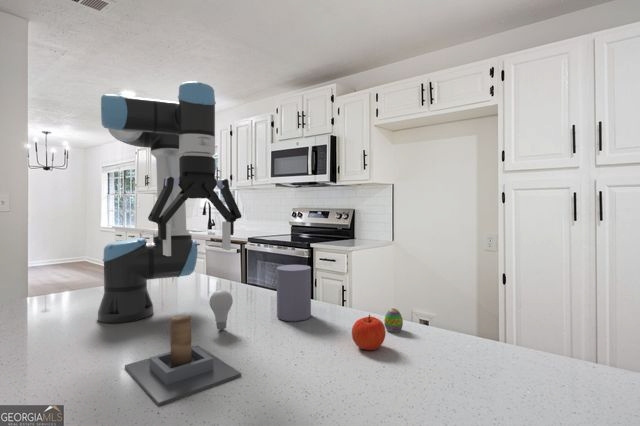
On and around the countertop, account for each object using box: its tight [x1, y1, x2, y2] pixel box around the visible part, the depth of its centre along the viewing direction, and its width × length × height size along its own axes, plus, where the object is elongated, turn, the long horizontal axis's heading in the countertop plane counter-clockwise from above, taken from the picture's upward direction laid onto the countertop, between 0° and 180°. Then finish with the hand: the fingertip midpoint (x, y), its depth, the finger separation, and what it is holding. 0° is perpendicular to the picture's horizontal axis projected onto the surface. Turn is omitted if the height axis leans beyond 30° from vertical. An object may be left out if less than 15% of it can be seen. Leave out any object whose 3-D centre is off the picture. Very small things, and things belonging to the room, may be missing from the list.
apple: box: [351, 314, 386, 351], centre depth 89 cm, size 8×8×8 cm
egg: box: [383, 308, 404, 333], centre depth 100 cm, size 5×5×6 cm
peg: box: [169, 314, 193, 369], centre depth 76 cm, size 4×4×10 cm
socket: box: [124, 345, 242, 407], centre depth 76 cm, size 20×16×3 cm
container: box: [276, 264, 312, 322], centre depth 113 cm, size 10×10×15 cm
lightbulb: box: [208, 289, 234, 331], centre depth 101 cm, size 6×6×11 cm
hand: (198, 252), depth 82 cm, fingers open, 13 cm apart
